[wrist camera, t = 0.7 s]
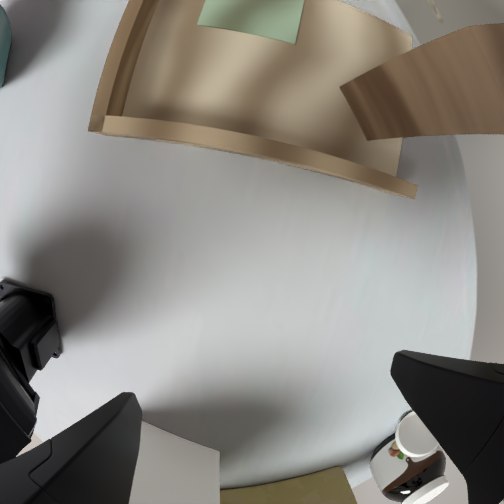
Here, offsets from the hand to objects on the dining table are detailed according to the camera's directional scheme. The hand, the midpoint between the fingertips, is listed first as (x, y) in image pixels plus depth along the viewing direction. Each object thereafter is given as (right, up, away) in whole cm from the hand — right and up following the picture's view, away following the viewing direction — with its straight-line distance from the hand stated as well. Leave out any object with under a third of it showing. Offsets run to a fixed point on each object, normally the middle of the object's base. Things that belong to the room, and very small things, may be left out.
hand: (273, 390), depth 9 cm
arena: (+1, +18, +9) cm, 20 cm away
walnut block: (+9, +16, +10) cm, 20 cm away
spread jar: (+20, -22, +23) cm, 38 cm away
